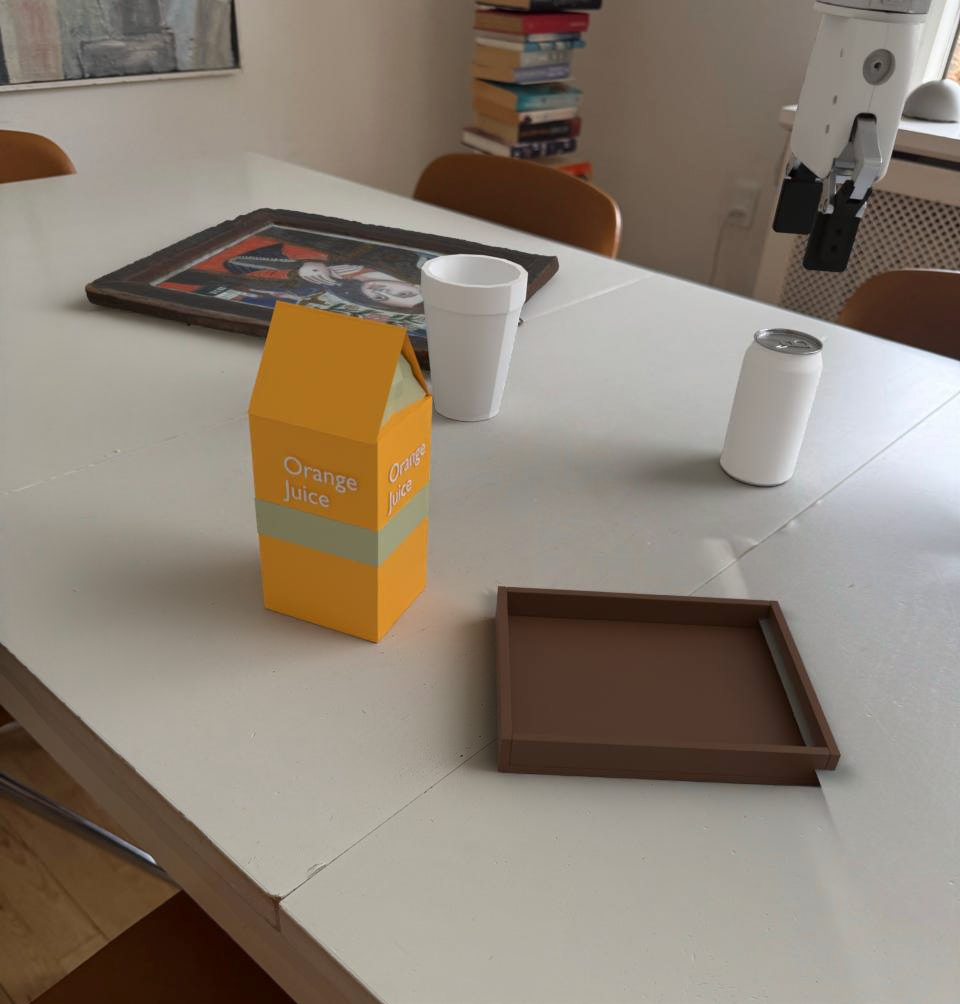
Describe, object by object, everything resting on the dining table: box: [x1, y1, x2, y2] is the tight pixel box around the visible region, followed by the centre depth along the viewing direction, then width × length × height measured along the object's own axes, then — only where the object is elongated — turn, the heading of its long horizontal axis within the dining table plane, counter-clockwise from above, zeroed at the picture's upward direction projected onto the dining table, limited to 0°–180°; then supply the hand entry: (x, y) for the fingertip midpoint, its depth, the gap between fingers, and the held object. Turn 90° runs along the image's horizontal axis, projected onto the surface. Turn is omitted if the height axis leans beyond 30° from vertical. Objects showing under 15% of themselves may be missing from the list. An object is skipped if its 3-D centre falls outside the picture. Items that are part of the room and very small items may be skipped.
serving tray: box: [494, 585, 842, 788], centre depth 63 cm, size 19×15×3 cm
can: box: [719, 327, 824, 487], centre depth 86 cm, size 6×6×12 cm
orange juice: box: [246, 300, 433, 644], centre depth 64 cm, size 8×9×20 cm
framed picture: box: [84, 207, 560, 372], centre depth 120 cm, size 40×45×3 cm
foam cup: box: [421, 254, 528, 422], centre depth 93 cm, size 10×9×13 cm
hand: (806, 250), depth 78 cm, fingers open, 9 cm apart
